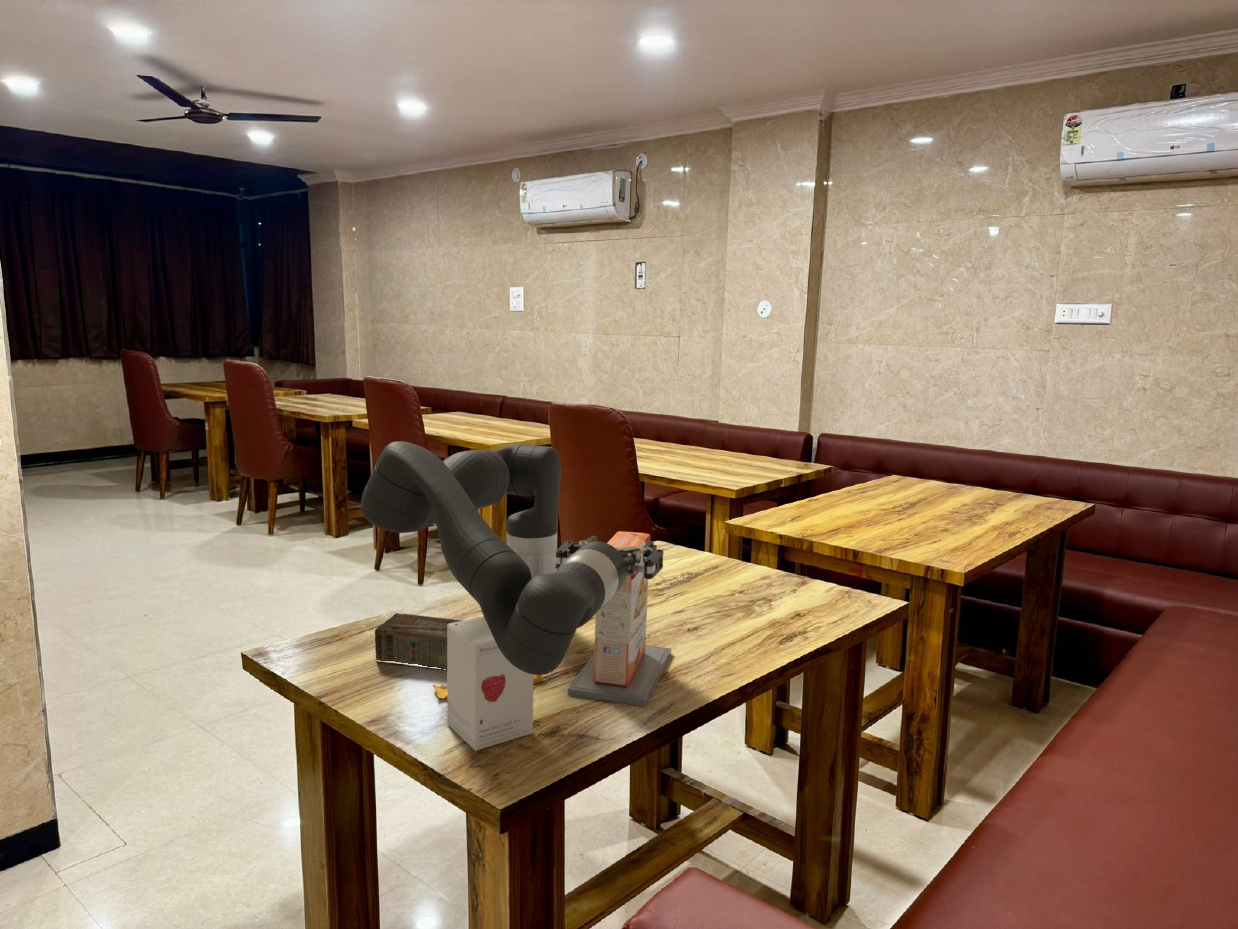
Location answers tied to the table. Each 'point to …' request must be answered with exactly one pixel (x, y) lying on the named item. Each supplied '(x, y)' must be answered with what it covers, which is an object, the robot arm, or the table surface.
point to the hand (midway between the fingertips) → (623, 545)
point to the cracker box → (622, 622)
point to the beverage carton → (413, 640)
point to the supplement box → (485, 688)
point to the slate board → (637, 687)
